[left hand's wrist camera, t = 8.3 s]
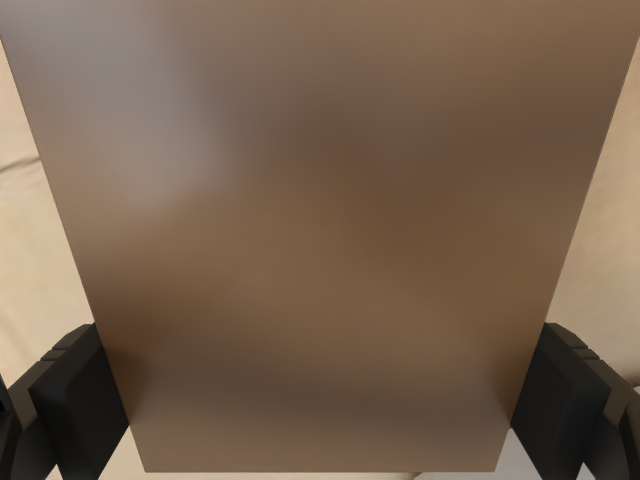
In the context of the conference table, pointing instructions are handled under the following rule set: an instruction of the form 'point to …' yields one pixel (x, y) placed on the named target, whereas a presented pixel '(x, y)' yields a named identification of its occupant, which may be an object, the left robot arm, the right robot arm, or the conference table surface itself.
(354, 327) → the cabinet
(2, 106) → the conference table surface
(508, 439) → the projector
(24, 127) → the conference table surface
